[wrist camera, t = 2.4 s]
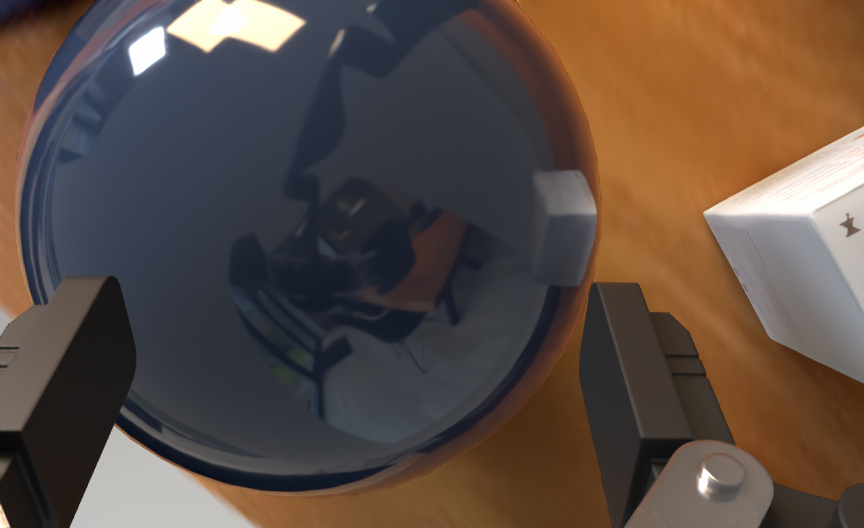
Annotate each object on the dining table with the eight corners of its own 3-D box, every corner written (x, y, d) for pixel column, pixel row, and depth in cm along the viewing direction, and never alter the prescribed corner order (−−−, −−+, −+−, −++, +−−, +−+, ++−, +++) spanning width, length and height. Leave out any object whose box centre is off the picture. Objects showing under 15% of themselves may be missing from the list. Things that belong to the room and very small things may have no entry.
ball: (398, -77, 36) (254, -404, 17) (665, 236, 35) (829, 262, 16) (109, 192, 38) (-304, 169, 19) (357, 488, 37) (184, 769, 18)
